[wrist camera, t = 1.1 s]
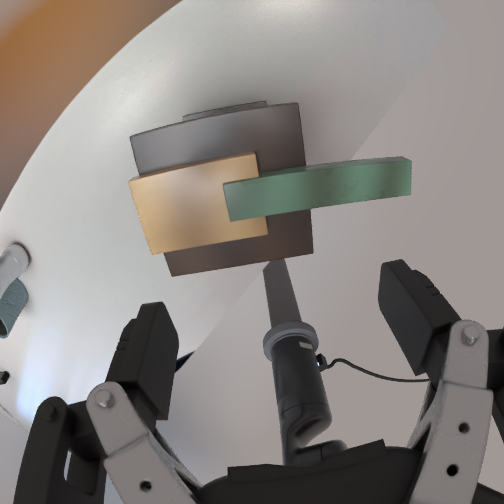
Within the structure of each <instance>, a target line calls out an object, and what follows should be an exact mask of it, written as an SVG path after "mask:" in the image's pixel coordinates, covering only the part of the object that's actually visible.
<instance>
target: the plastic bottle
mask: <svg viewBox="0 0 504 504" xmlns="http://www.w3.org/2000/svg"><path fill="white" fill-rule="evenodd" d="M28 262H29V260H28V255H27V253H26V251H25V250H24V249H23V248H22V247H21V246H19V245H16V244H12V245H10V246H9V247H7V248H6V249H5V250H4V252H3V253H2V255H1V257H0V299H1V297H2V295H3V294H4V292H5V291H6V289H7V288H8V287H9V285H10V284H11V283H12V282H13V281H14V280H15V279H16V278H17V277H19V276H20V275H22V274H23V273H24V272H25V271H26V269H27V267H28Z"/></svg>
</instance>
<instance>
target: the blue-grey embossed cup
mask: <svg viewBox="0 0 504 504" xmlns="http://www.w3.org/2000/svg"><path fill="white" fill-rule="evenodd" d="M27 301H28V293H27V290H26V288H25V287H24V285H23V284H22V283H21V281H20V280H18V279H17V278H16V279H15V280H14V281H13V282H12V283H11V284H10V285H9V287H8V288H7V289H6V291H5V292H4V294H3V295H2V297H1V299H0V338H3V339H4V338H7V337H8V335H9V333H10V331H11V329H12V328H13V325H14V323H15V321H16V320H17V317H18V316H19V314H20V313H21V311H22V309H23V307H24V306H25V305H26V303H27Z"/></svg>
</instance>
